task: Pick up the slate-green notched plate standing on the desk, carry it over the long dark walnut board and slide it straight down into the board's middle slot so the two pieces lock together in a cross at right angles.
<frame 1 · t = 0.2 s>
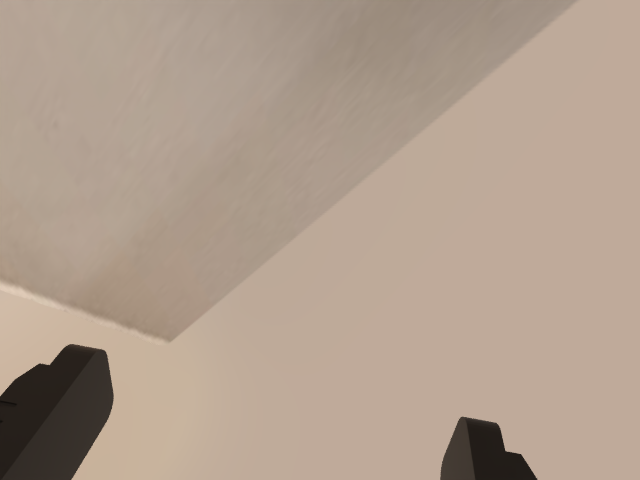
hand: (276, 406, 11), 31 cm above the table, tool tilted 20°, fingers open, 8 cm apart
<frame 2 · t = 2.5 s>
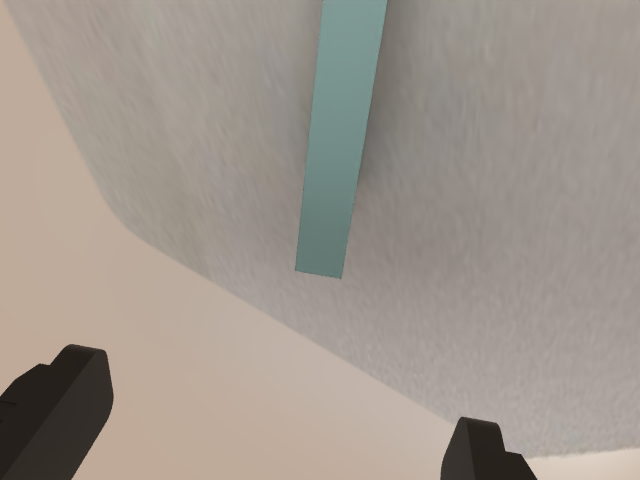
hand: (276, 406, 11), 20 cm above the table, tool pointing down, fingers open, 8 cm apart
notched plate: (358, 58, 26), on the table
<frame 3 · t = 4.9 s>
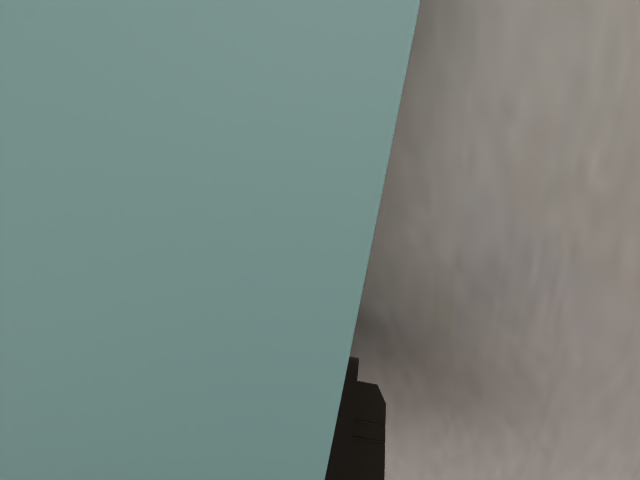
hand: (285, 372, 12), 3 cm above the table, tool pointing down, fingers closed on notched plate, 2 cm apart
notched plate: (320, 172, 12), on the table, touching gripper
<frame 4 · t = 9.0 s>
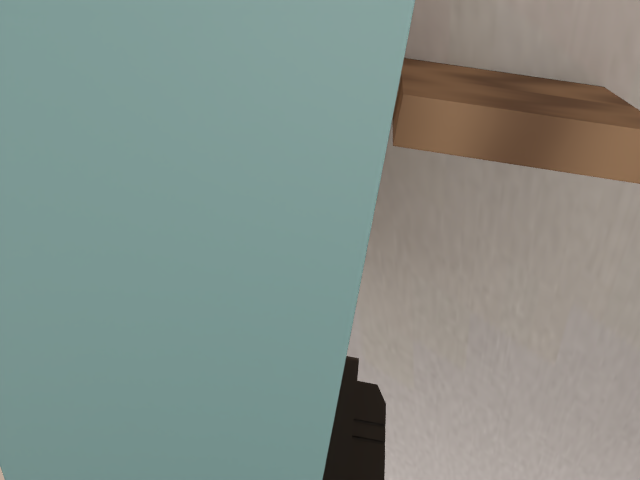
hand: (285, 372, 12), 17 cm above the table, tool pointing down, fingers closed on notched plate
notched plate: (315, 215, 13), point 14 cm above the table, touching gripper
slotted board: (353, 72, 24), on the table
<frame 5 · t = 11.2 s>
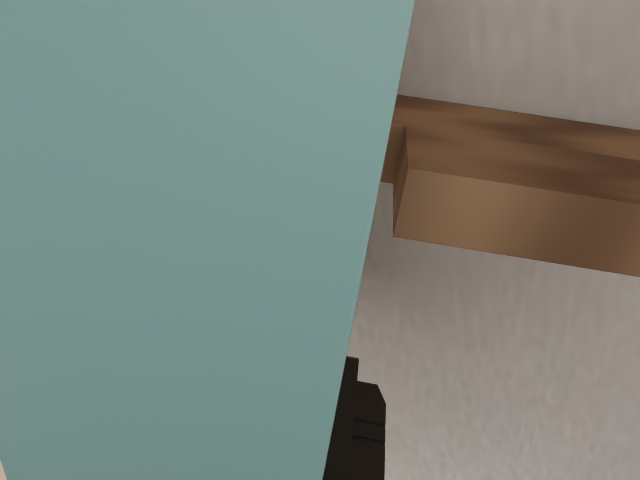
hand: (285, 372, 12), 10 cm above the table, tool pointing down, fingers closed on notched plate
notched plate: (315, 217, 13), point 7 cm above the table, touching gripper
slotted board: (341, 113, 19), on the table
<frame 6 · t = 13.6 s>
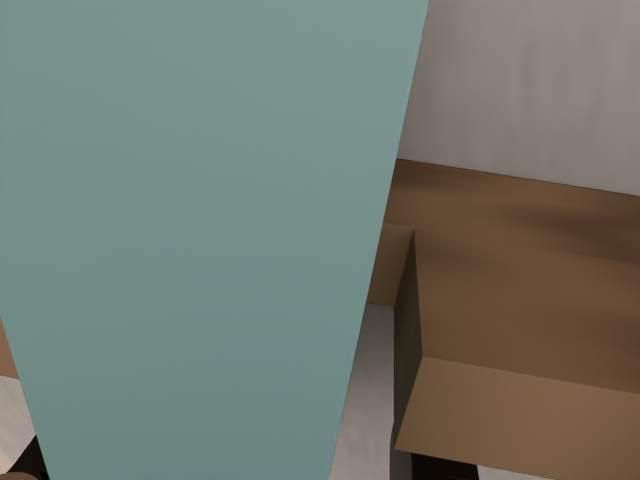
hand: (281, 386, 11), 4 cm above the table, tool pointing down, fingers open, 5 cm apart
notched plate: (318, 213, 14), on the table, touching slotted board
slotted board: (320, 182, 13), on the table
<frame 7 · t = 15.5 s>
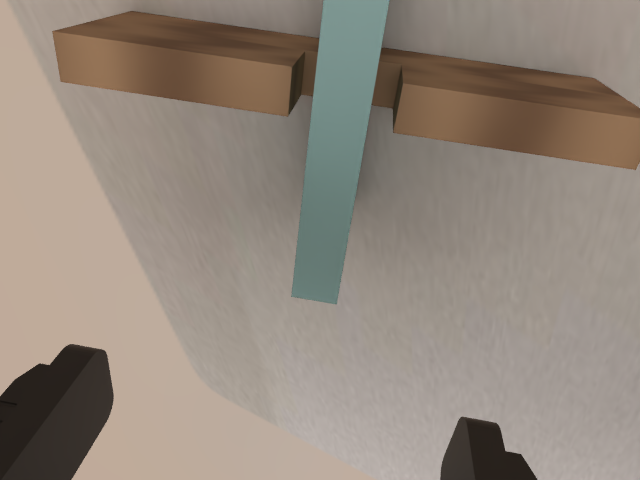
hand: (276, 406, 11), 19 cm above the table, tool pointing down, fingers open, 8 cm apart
notched plate: (353, 82, 26), on the table, touching slotted board
slotted board: (354, 64, 25), on the table
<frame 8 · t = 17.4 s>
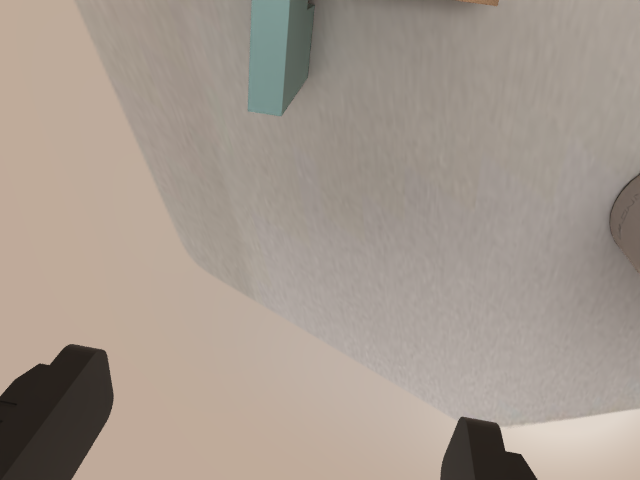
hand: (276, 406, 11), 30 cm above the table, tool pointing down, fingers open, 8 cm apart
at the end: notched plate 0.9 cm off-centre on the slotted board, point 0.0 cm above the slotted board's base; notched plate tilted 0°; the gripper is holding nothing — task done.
